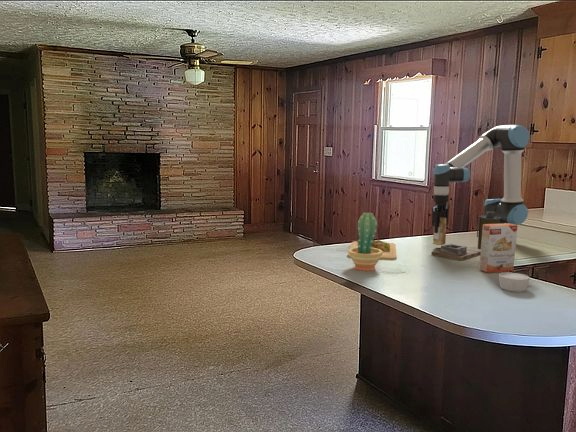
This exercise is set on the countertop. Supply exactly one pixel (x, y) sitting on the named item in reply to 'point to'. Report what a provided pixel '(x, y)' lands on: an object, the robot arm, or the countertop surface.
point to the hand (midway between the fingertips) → (439, 238)
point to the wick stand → (456, 252)
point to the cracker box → (498, 247)
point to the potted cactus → (366, 244)
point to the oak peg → (441, 232)
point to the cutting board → (387, 249)
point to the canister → (486, 220)
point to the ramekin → (513, 281)
